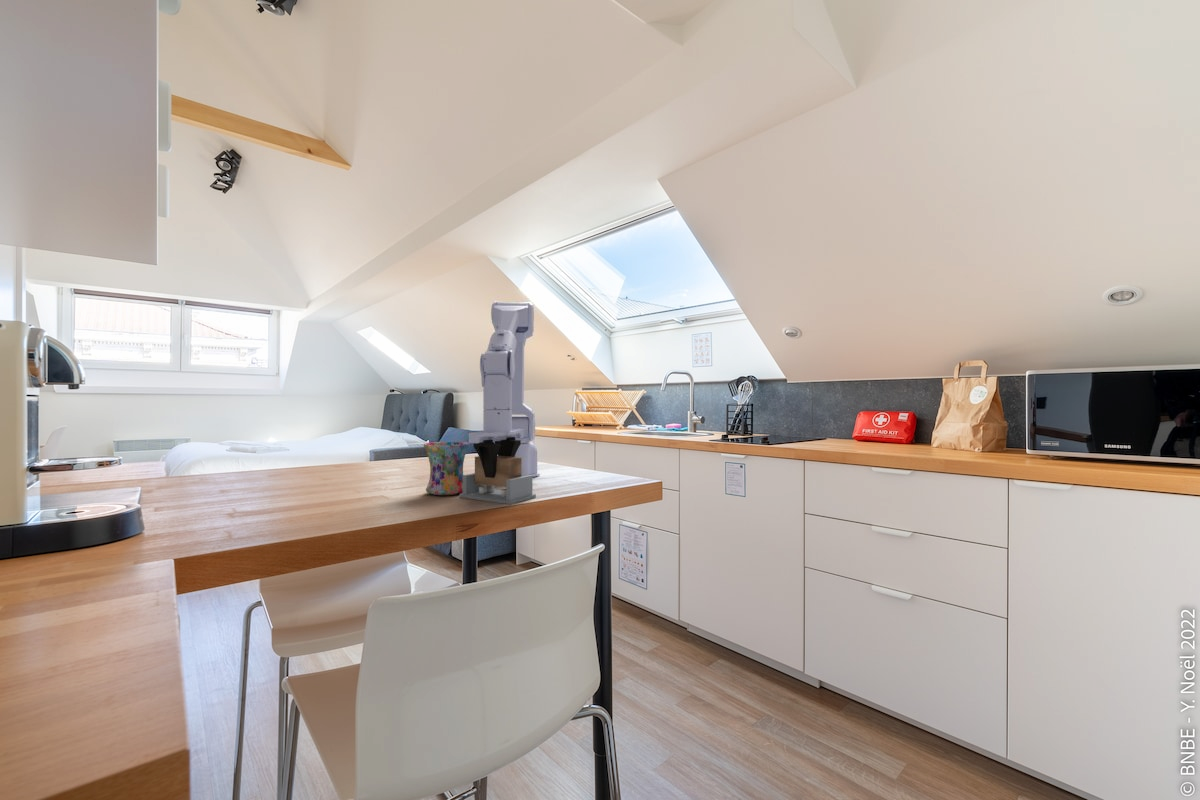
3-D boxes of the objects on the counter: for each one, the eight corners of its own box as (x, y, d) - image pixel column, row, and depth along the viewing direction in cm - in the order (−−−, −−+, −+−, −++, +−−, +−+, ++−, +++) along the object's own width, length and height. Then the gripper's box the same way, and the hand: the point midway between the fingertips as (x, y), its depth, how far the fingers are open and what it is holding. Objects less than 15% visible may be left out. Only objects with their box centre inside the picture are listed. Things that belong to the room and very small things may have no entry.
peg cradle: (486, 490, 113) (486, 470, 113) (535, 497, 106) (535, 475, 106) (459, 497, 106) (459, 475, 106) (510, 504, 99) (510, 480, 99)
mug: (463, 497, 106) (463, 445, 105) (417, 497, 105) (417, 445, 105) (475, 487, 118) (475, 440, 117) (434, 487, 117) (434, 440, 117)
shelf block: (488, 480, 110) (488, 454, 110) (521, 484, 105) (521, 457, 105) (474, 483, 106) (474, 456, 106) (508, 487, 102) (508, 459, 102)
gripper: (488, 410, 97) (488, 482, 97) (534, 409, 110) (534, 472, 110) (460, 410, 101) (460, 479, 101) (509, 408, 113) (509, 470, 113)
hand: (497, 475), depth 106 cm, fingers closed on shelf block, 4 cm apart
